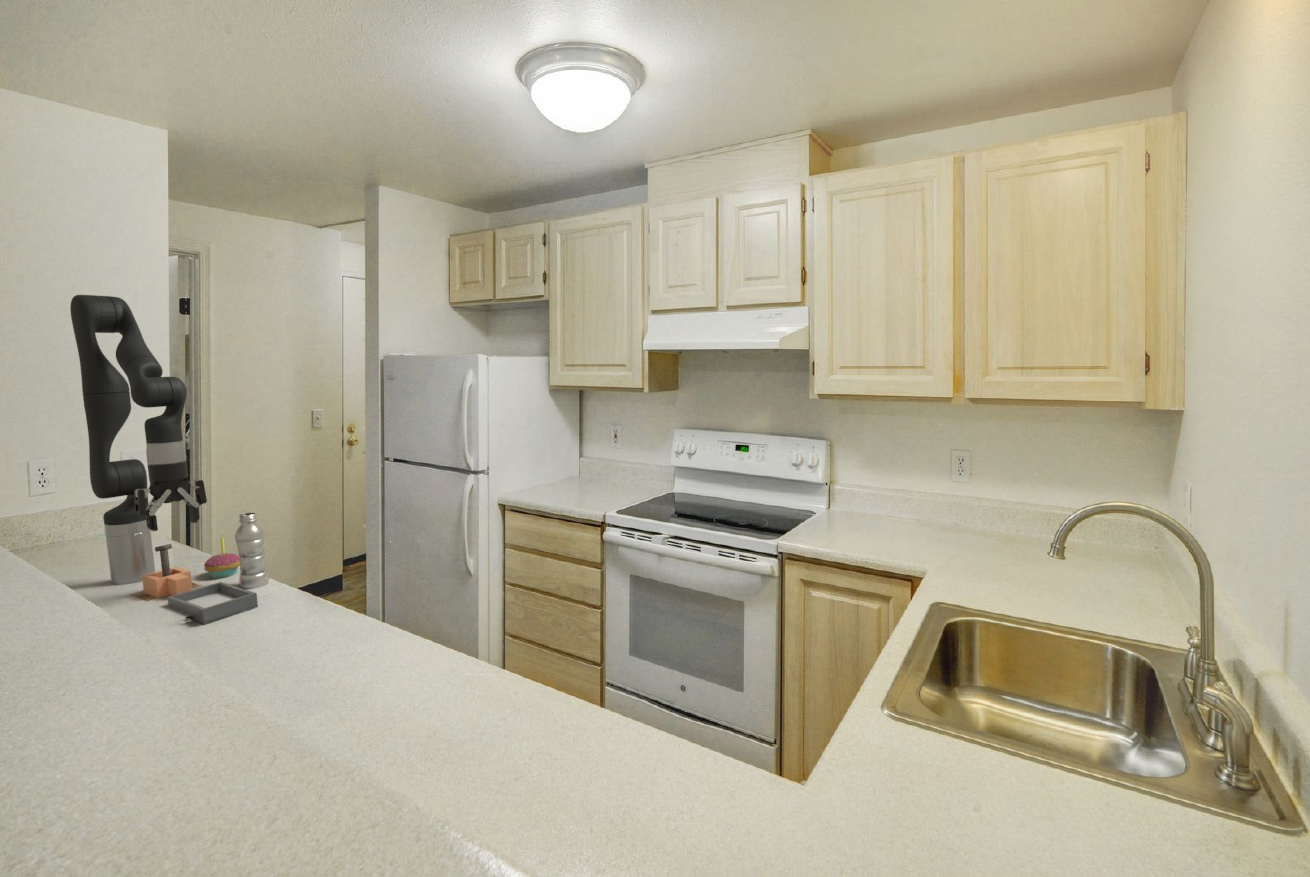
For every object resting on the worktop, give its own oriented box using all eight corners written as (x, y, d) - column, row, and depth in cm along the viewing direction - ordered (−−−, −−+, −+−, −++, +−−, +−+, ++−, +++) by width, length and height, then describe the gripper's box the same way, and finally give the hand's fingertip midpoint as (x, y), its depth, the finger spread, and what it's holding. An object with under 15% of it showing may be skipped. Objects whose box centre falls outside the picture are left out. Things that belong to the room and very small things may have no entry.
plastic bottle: (246, 596, 163) (239, 518, 161) (235, 591, 167) (228, 515, 165) (274, 589, 168) (267, 513, 166) (262, 583, 173) (255, 509, 170)
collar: (143, 592, 163) (141, 575, 162) (177, 583, 169) (176, 566, 169) (167, 601, 157) (165, 583, 156) (201, 591, 163) (199, 574, 163)
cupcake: (209, 577, 178) (204, 534, 177) (245, 572, 182) (241, 530, 180) (203, 587, 171) (198, 542, 169) (241, 582, 174) (236, 538, 173)
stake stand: (131, 600, 162) (125, 549, 160) (185, 585, 172) (180, 537, 170) (148, 607, 157) (141, 554, 156) (202, 591, 168) (197, 541, 166)
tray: (169, 611, 155) (167, 597, 154) (222, 595, 164) (220, 582, 164) (204, 624, 146) (202, 609, 146) (257, 607, 156) (256, 593, 156)
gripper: (192, 455, 164) (198, 518, 166) (124, 463, 152) (132, 531, 154) (207, 457, 161) (214, 521, 163) (139, 466, 149) (147, 535, 151)
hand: (174, 526), depth 159 cm, fingers open, 8 cm apart
